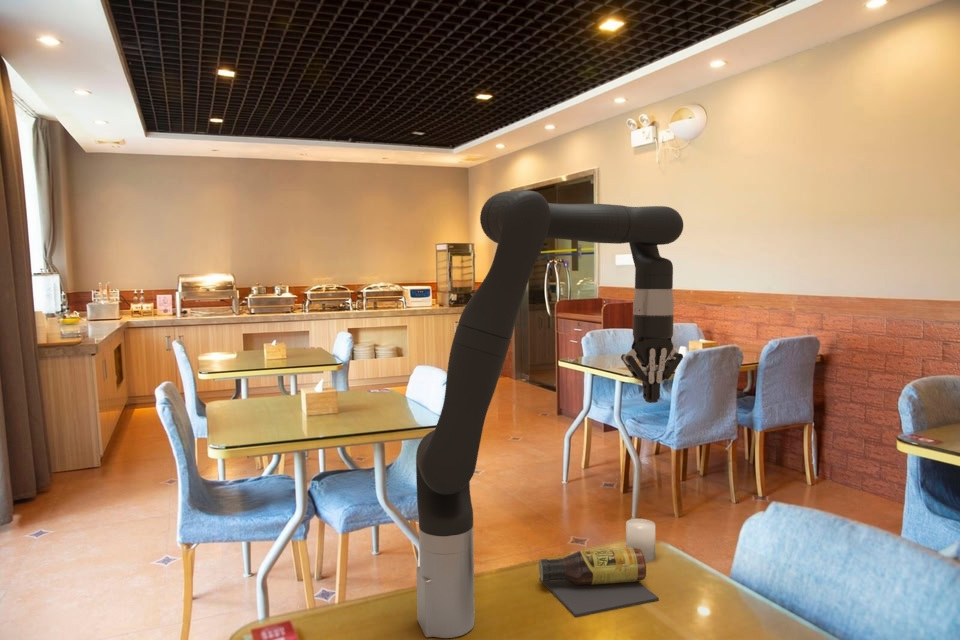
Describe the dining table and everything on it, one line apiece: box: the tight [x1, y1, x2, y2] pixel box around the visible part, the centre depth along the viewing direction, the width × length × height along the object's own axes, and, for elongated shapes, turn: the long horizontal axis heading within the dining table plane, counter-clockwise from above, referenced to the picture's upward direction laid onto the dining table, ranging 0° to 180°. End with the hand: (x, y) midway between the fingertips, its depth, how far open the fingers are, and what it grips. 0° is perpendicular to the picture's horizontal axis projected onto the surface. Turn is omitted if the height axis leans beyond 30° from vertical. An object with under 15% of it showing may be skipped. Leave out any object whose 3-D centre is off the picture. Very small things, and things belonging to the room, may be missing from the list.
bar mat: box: [539, 576, 660, 618], centre depth 124 cm, size 17×15×1 cm
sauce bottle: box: [538, 546, 647, 585], centre depth 125 cm, size 6×6×20 cm
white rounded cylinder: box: [625, 518, 656, 563], centre depth 138 cm, size 6×6×7 cm
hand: (651, 401), depth 127 cm, fingers closed
